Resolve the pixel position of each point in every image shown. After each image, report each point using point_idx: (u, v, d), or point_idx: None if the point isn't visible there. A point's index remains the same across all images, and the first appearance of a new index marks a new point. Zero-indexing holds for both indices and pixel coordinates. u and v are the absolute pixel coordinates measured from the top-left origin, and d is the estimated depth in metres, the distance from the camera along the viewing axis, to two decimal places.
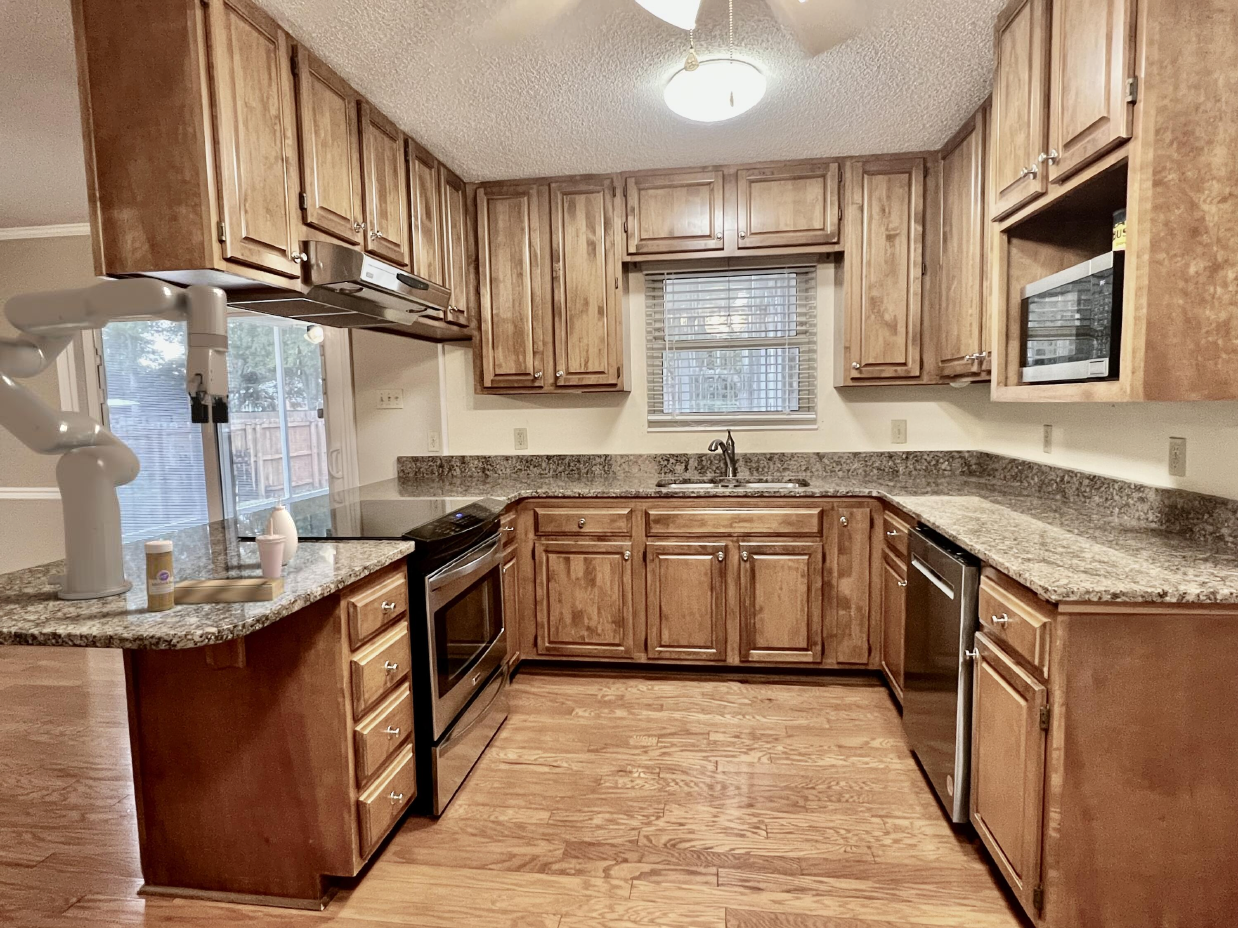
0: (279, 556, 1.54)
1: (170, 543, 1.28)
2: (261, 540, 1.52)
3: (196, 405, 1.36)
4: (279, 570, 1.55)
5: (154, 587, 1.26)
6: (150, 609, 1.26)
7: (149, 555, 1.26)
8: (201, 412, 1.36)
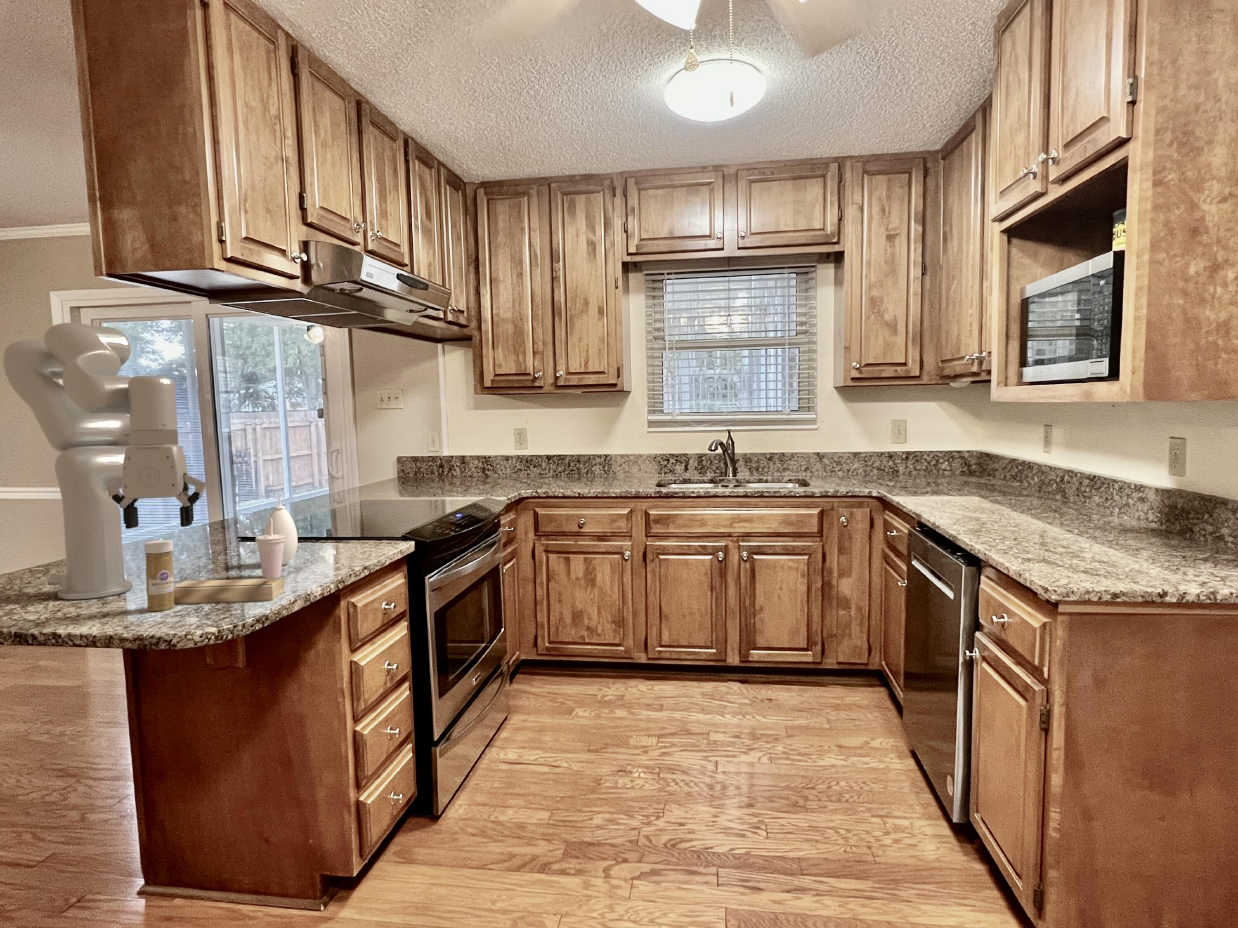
0: (279, 556, 1.54)
1: (170, 543, 1.28)
2: (261, 540, 1.52)
3: (190, 506, 1.28)
4: (279, 570, 1.55)
5: (154, 587, 1.26)
6: (150, 609, 1.26)
7: (149, 555, 1.26)
8: None
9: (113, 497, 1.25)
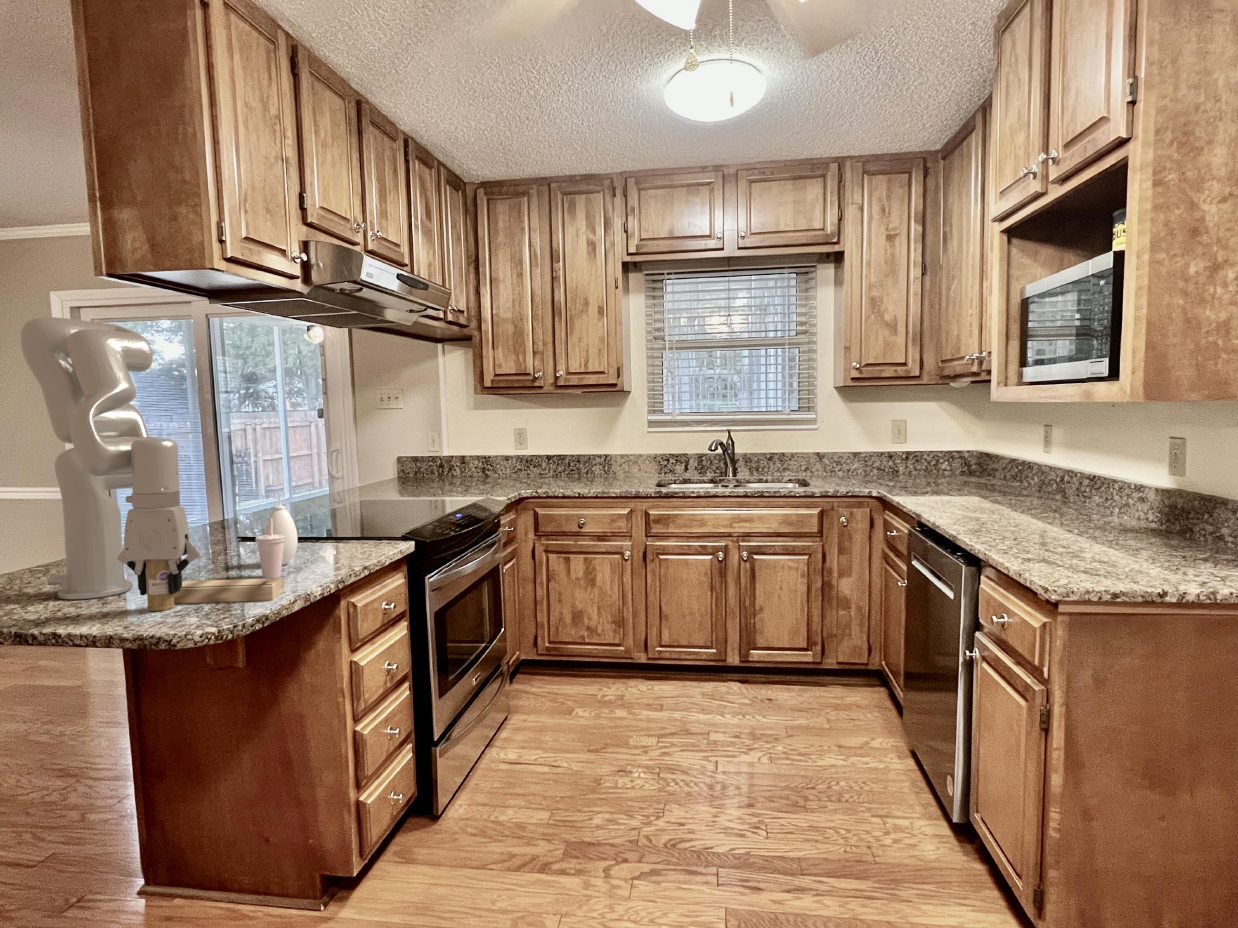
0: (279, 556, 1.54)
1: None
2: (261, 540, 1.52)
3: (179, 573, 1.29)
4: (279, 570, 1.55)
5: (154, 587, 1.26)
6: (150, 609, 1.26)
7: None
8: None
9: (128, 564, 1.26)
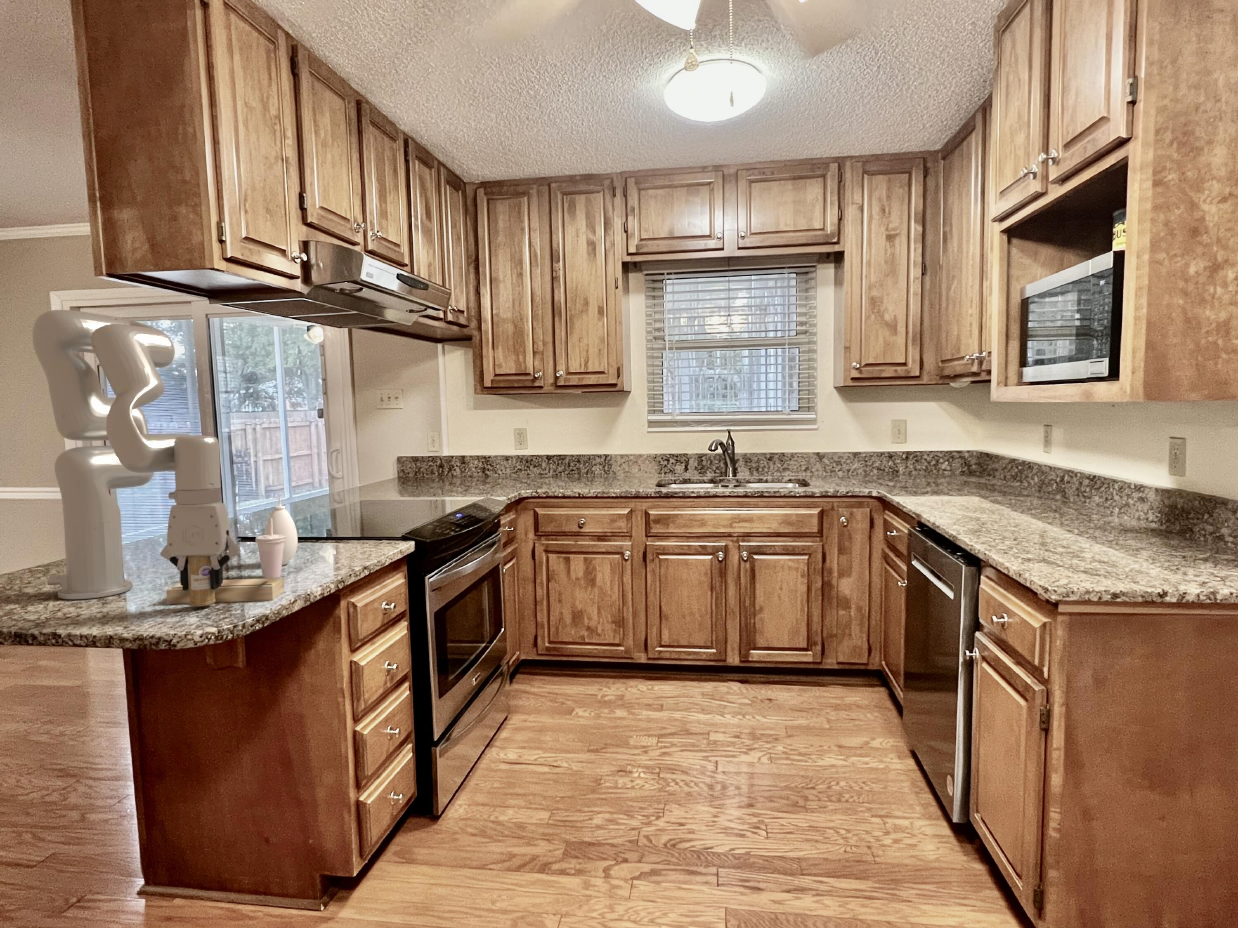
0: (279, 556, 1.54)
1: None
2: (261, 540, 1.52)
3: (220, 569, 1.30)
4: (279, 570, 1.55)
5: (196, 582, 1.27)
6: (192, 604, 1.28)
7: None
8: None
9: (171, 559, 1.27)
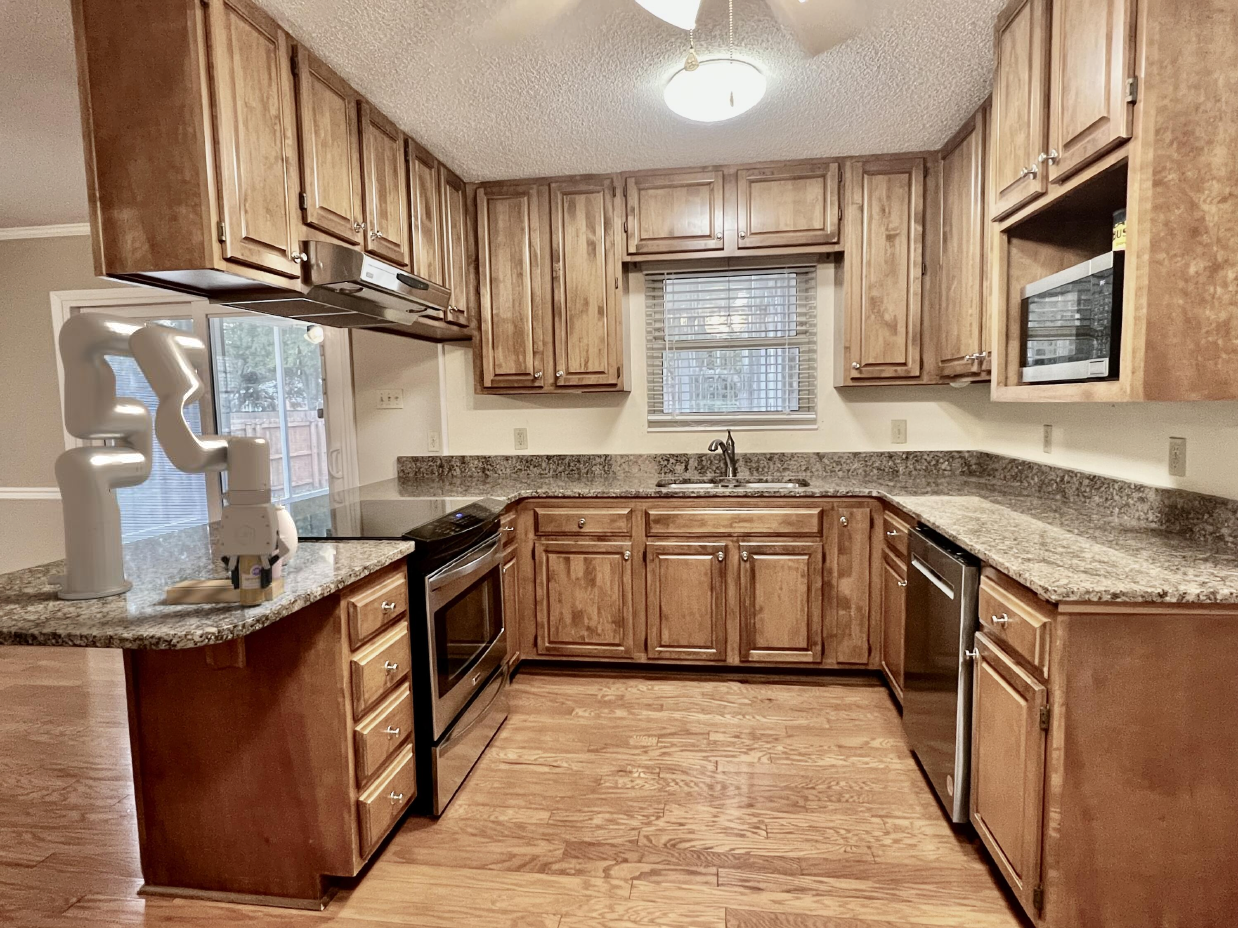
0: None
1: None
2: None
3: (270, 568, 1.31)
4: (279, 570, 1.55)
5: (248, 581, 1.29)
6: (243, 603, 1.29)
7: None
8: None
9: (222, 559, 1.29)
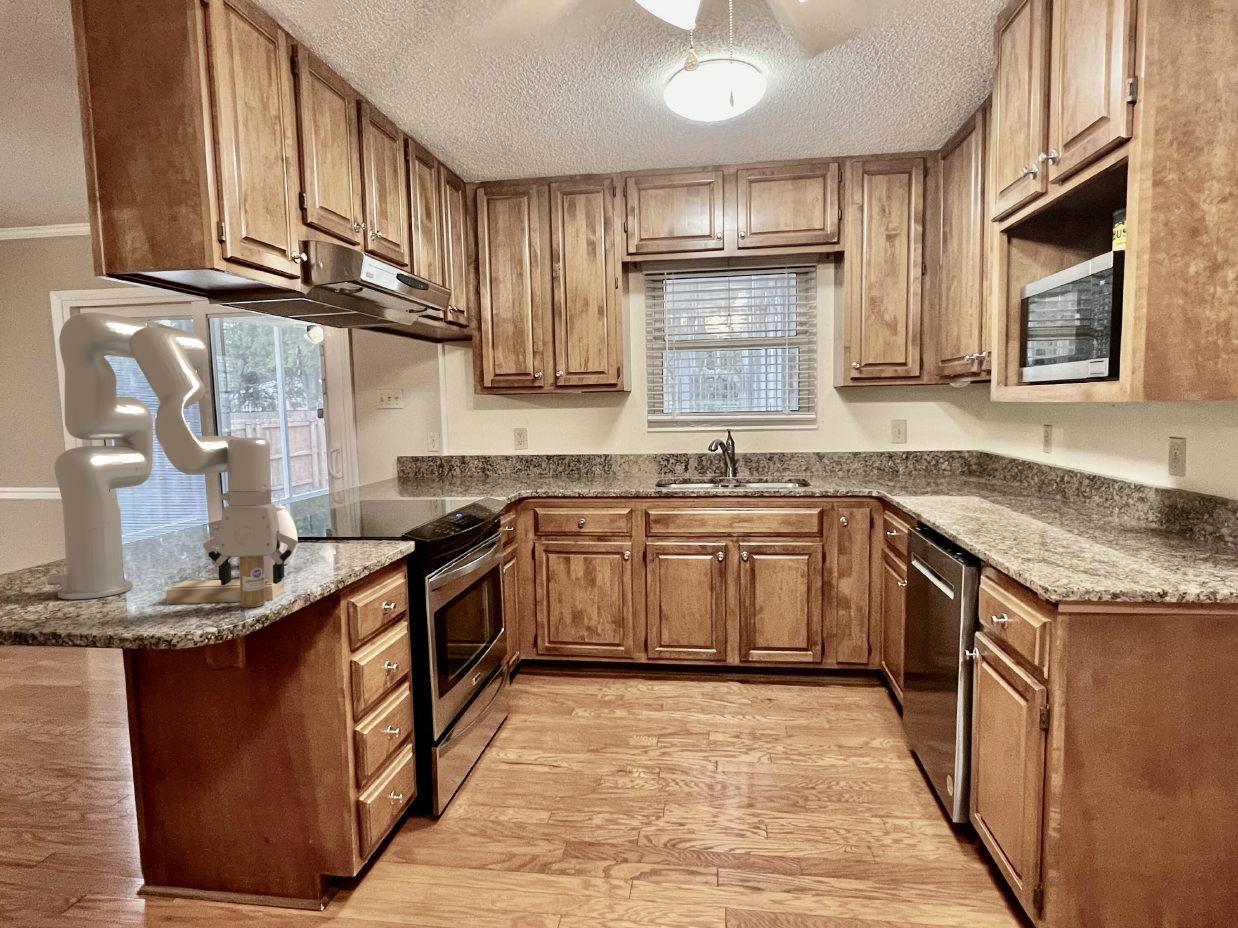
0: None
1: None
2: None
3: (282, 564, 1.32)
4: None
5: (248, 584, 1.29)
6: (244, 606, 1.29)
7: None
8: None
9: (209, 554, 1.29)
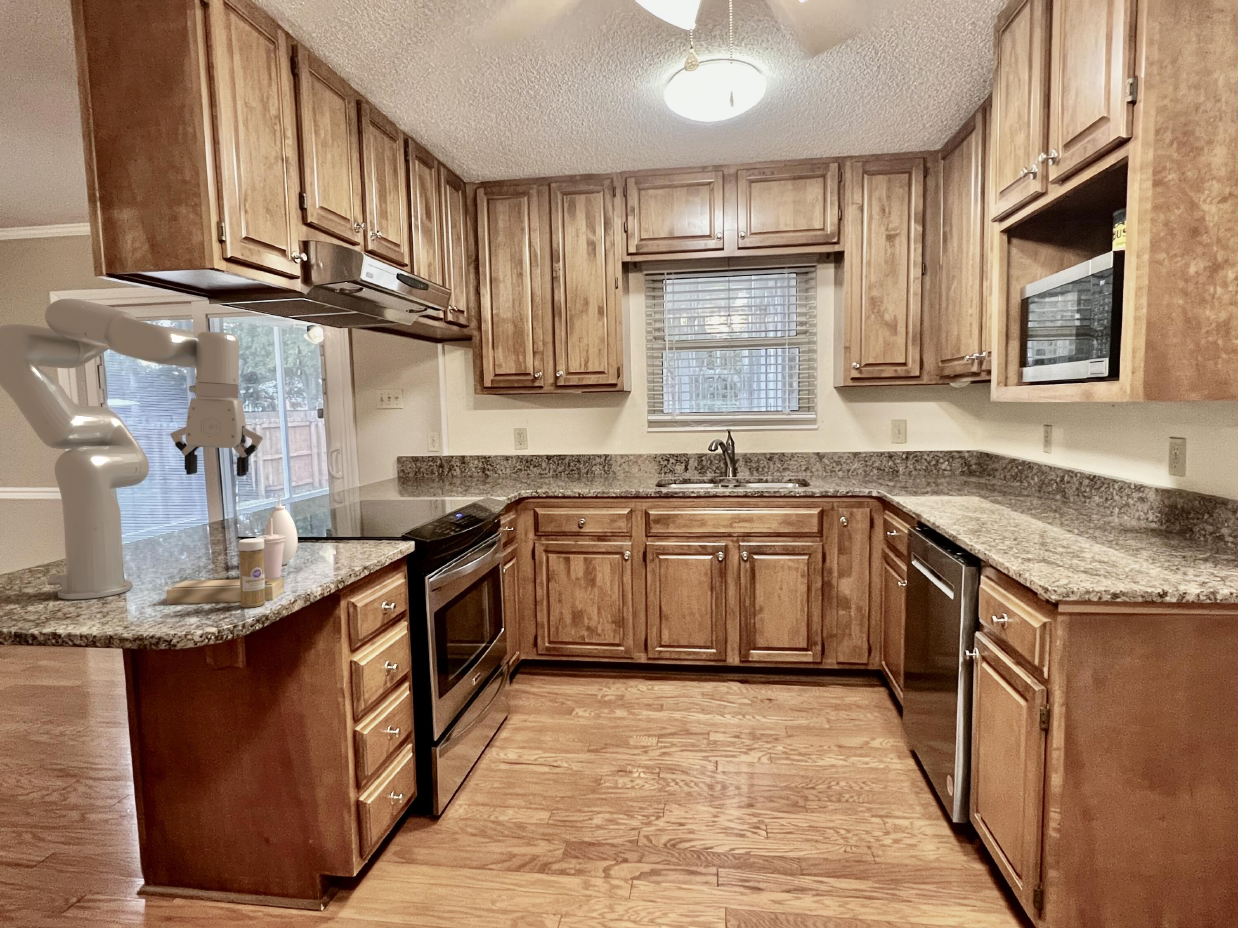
0: (279, 556, 1.54)
1: (262, 541, 1.31)
2: None
3: (246, 458, 1.36)
4: (279, 570, 1.55)
5: (248, 584, 1.29)
6: (244, 606, 1.29)
7: (243, 553, 1.29)
8: None
9: (176, 444, 1.33)
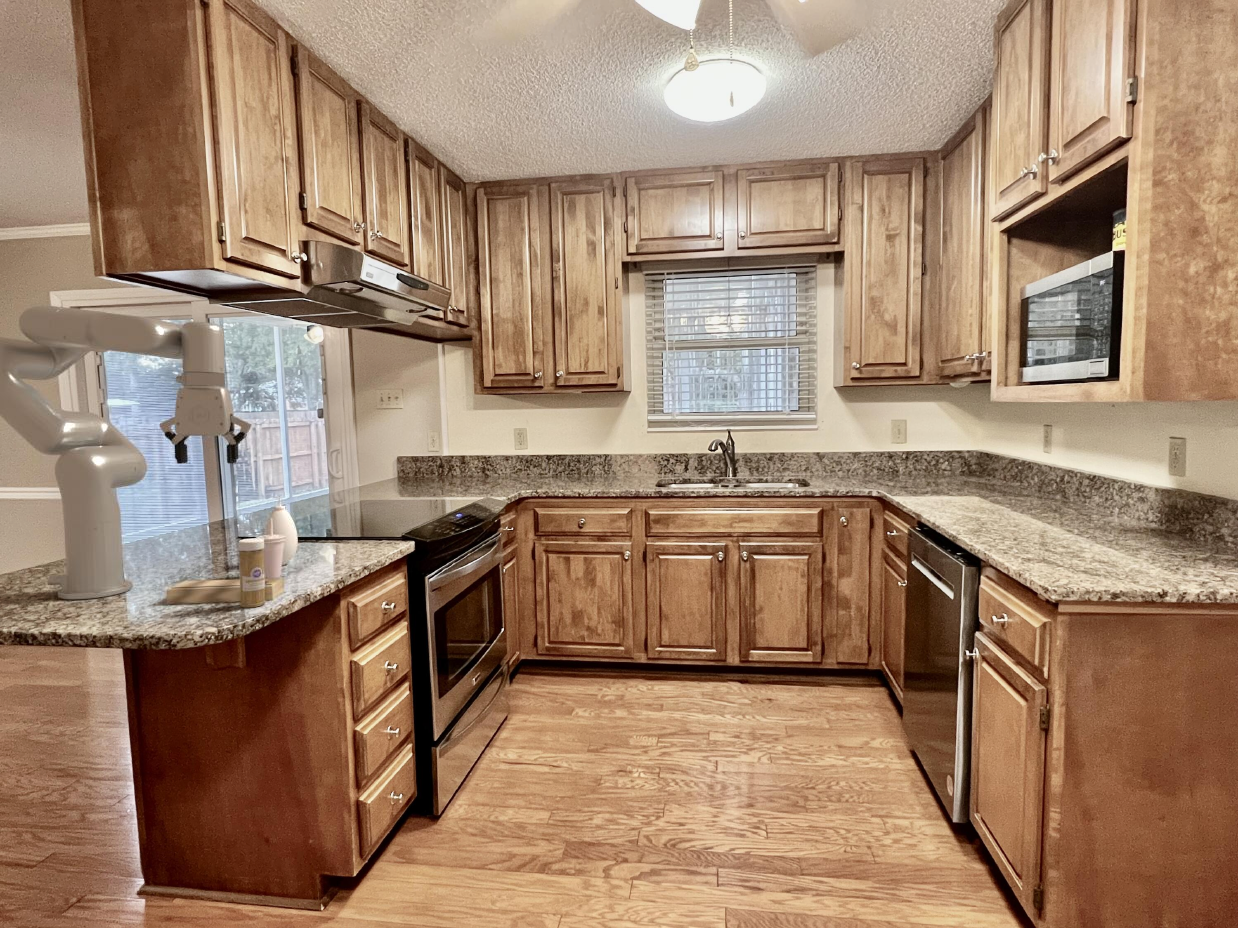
0: (279, 556, 1.54)
1: (262, 541, 1.31)
2: None
3: (236, 445, 1.38)
4: (279, 570, 1.55)
5: (248, 584, 1.29)
6: (244, 606, 1.29)
7: (243, 553, 1.29)
8: None
9: (166, 434, 1.35)
